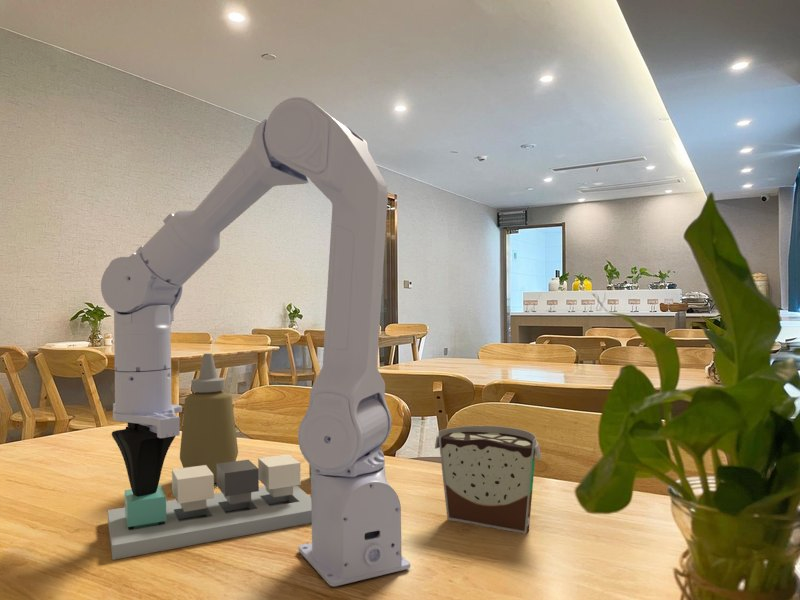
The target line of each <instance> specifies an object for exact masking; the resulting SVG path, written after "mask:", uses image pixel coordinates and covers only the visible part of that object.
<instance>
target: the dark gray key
mask: <svg viewBox="0 0 800 600" xmlns="http://www.w3.org/2000/svg"><path fill="white" fill-rule="evenodd" d="M216 466H217V483H216V487H217V488H218V489H219V490H220V493H223V494H224V497H225V498H226V500H227V501H228V502H229V504H236V503H242V502H248V501H251V492H257V491H259V487H260V485H259V483H260V480H259V472H258V467H257V466H256V465H255V464H254V462H252V461H251V460H250V459H243V460H236V461H233V462H225V463H218V464H216Z"/></svg>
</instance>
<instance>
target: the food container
mask: <svg viewBox="0 0 800 600" xmlns="http://www.w3.org/2000/svg"><path fill="white" fill-rule="evenodd" d="M434 449H439V452H440V453H439V454H440V462H441V471H442V472H441V473H442V481H443V489H444V490H443V491H444V500H445V507H446V508H445V510H446V518H447V520H450V521H453V522H460V523H464V524H465V523H466V524H469V525H476V526H482V527H486V528H492V529H498V530H502V531H503V530H504V531H509V532H514V533H519V534H525V535H527V534H528V532H529V531H530V523H531V522H530V521H531V513H532V511H531V510H532V501H533V500H532V499H533V487H534V486H533V485H534V476H535V463H536V461H537V462H538V461H540V460H541V459H542V453H541V449H540V443H539V441H538V440H537V437H536V435H535V434H534V433H533V432H530V431H528V430H525V429H521V428H516V427H508V426H499V425H498V426H497V425H465V426H455V427H449V428H445V429H441V430H438V435H436V439H435V444H434Z"/></svg>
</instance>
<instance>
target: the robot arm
mask: <svg viewBox="0 0 800 600" xmlns="http://www.w3.org/2000/svg"><path fill="white" fill-rule="evenodd" d="M309 180H310V182H311V183H313V185H314V186H315V187H316V188H317V189H318V190H319V191H320V192H321V193H322V194H323V195H324V196H325V197H326V198H327V199H328V200H329V201H330V203H331V205H332V207H331V210H332V211H331V223H330V224H331V225H330V226H331V227H330V239H329V241H330V242H329V256H328V257H329V258H328V272H327V274H328V275H327V288H326V289H327V290H326V307H325V319H324V320H325V321H324V322H325V323H324V336H323V338H324V339H323V354H322V355H323V356H322V367H321V369H320V371H319V373H318V374H317V377H316V378H315V380H314V383H313V384H312V387H311V389H310V392H309V400H308V401H309V403H308V408H307V410H306V412H305V414H304V416H303V418H302V419H301V421H300V424H299V426H298V431H297V441H298V446H299V450H300V452H301V454H302V456H303V458H304V459H305V460H306V462H307V463H308V464H310V465H311V479H310V489H311V490H310V492H311V493H310V495H311V496H310V497H311V510H312V523H311V542H308V543H305V544H299V545H298V547H297V548H298V550H297V551H298V552H299V553H300V554H301V555H302V556H303V558H304V559H305V560H306V561H308V563H309V564H310V565H311V566H312V568H314V570H315V571H316V572H317V574H319V575H320V577H321V578H322V579H323V580H324V581H325V582H326V583H327V584H328V585H329V586H330V587H339V586H342V585H343V586H344V585H347V584H352V583H355V582H358V581H359V582H360V581H363V580H368V579H372V578H377V577H380V576H384V575H388V574H392V573H395V572H396V573H397V572H401V571H405V570H408V569H410V568H411V562H410V561H409V560H408V559H406V558H405V557H403V556H402V509H401V508H402V506H401V505H402V504H401V501H400V498H399V496H398V495H399V494H397V492H396V490H395V488H393V487H392V486H391V485H390V482H388V480H387V476H386V467H385V466H386V464H385V463H386V458H385V455H384V452H383V450H382V446H383V445H384V444H385V443H386V442H387V440H388V438H389V436H390V434H391V430H392V422H393V421H392V414H391V411H390V409H389V407H388V403H387V400H386V382H385V380H384V378H383V376H382V375H381V372H380V371H379V369H378V357H379V340H380V329H381V328H380V326H381V325H380V324H381V323H380V322H381V311H382V310H381V308H382V307H381V306H382V296H383V295H382V292H383V275H384V262H385V261H384V260H385V245H386V244H385V242H386V229H387V228H386V227H387V214H388V212H387V211H388V197H389V196H388V195H389V194H388V186H387V183H386V181H385V180H384V177H383V175H382V173H381V172H380V171H379V167H378V166H377V164H376V162H375V161H374V159H373V156H372V155H371V152H370V151H369V145H368V142H367V141H366V140H365V139H364V138H363V137H361V136H360V135H359V134H358V133H356V132H355V131H354V130H353V129H352V128H350V127H349V126H347V125H346V124H344V123H341V122H340V121H338V119H337V120H336V118H334V117H332V116H331V115H330V114H329V113H328V112H326V111H325V109H323V108H322V107H320V106H319V105H318V104H316V103H315V102H314V101H312V100H311V99H308V98H306V97H300V96H296V97H290V98H287V99H285V100H283V101H281V102H279V104H277V105H276V106H275V107H274V108H273V109H272V111H271V112H270V114H269V116H268V117H267V118H265V119H263V121H261V122H259V123H258V124H257V125H256V126H255V128H254V132H253V134H252V137H251V140H250V144H249V145H248V147H247V148H246V150H245V151H243V153H242V154H241V155H240V156H239V158H237V161H235V162H234V164H233V165H232V166H231V167H230V169H228V171H226V173H225V174H224V175H223V176H222V178H221V179H220V180H219V181H218V182H217V184H215V186H214V187H213V188H212V189H211V190H210V192H209V193H208V194H207V195H206V197H204V199H203V200H202V201H201V202H200V204H198V206H196V208H195V209H193V210H186V209H185V210H184V209H183V210H177V212H175V213H168V215H167V216H165V218H164V219H163V221H162V222H163V223H164V224H163V225H162V227H160V228H159V230H158V231H157V232H156V233H155V234H153V235H152V236H151V238H150V239H149V240H148V241H147V242H146V243H145V244H144V245H140V246H139V247H138V248H137V249H136V251H135V252H133V253H132V254H131V255H130V256H120V257H116V258H114V259H112V260H111V261H110V262H109V264H108V265H107V267H106V269H105V270H104V271H103V273H102V277H101V280H100V281H101V282H100V292H101V296H102V299H103V300H104V302H105V304H106V305H107V306H108V308H110V309H111V310H113V329H114V331H113V332H114V333H113V335H114V336H113V337H114V343H113V344H114V351H113V352H114V403H112V420H113V421H114V422H115V421H116V422H119V423H121V422H122V423H127V426H125V428H124V429H117V430H113V431H112V432H111V436H112V439H113V440H114V441H115V443H116V445H117V447H118V449H119V451H120V453H121V455H122V459H123V461H124V465H125V469H126V472H127V473H126V474H127V477H128V481H129V485H130V489H132V492H133V494H134V495H136V496H137V497H139V496H143V495H148V494H153V493H156V491H157V488H158V485H159V483H160V481H161V480H160V479H161V475H162V470H163V465H164V462H165V459H166V456H167V453H168V451H169V449H170V447H171V445H172V443H173V441H174V440H175V438H176V437H178V436H180V435H181V434H180V422H181V421H180V416H177V415H176V414H178V413H182V412H183V406H182V405H179V404H172V403H173V402H172V400H173V399H172V351H171V350H172V343H171V342H172V341H171V340H172V339H171V332H172V331H171V330H172V329H171V326H172V322H174V319H175V318H174V316H175V315H174V312H175V308H176V306H177V304H178V303H179V302H180V300H181V297H182V293H183V285H184V284H185V283H186V282H188V280H189V279H190V278H191V277H193V275H194V274H196V273H197V272H198V271H199V270H200V269H201V268H202V266H204V265H205V263H206V262H208V261H209V260H210V259H211V258H212V257H213V256H214V255H215V254H216V253H217V252H218V251H219V250H220V247H221V232H222V231H224V230H225V229H226V228H228V227H229V225H231V224H232V223H233V222H234V221H235V220H236V219H238V218H239V217H240V216H241V215H242V214H243V213H245V212H246V211H247V210H248V209H249V208H250V207H251V206H253V205H254V204H255V203H256V202H257V201H258V200H260V198H262V197H263V196H264V195H266V194H267V193H268V192H269V191H270V190H272V188H273V187H277V186H293V185H294V186H295V185H306V184H309Z"/></svg>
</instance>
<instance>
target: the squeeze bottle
mask: <svg viewBox="0 0 800 600" xmlns="http://www.w3.org/2000/svg"><path fill="white" fill-rule="evenodd" d="M199 370H200V371H199V375H198V378H193V379H191V382H190V383H191V392H192V393H190V394H188V395H187V396H186V397H184V403H183V414H182V415H183V417H182V425H181V426H182V427H181V437H180V449H179V450H180V451H179V460H180V462H181V465H182V468H187V467H195V466H202V465H206V466H207V467H208V468H209V469H210V471H211V472H212V473H213V474H214V484H217V466H216V464H218V463H225V462H233V461H237V458H238V456H239V449H238V439H237V429H236V422H235V411H234V404H233V397H232V395H231V394H230V393H228V392H225V390H226V378H224V377H219V376H218V374H217V368H216V364H215V360H214V355H213V353H203V355H202V361H201V366H200V369H199Z"/></svg>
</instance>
